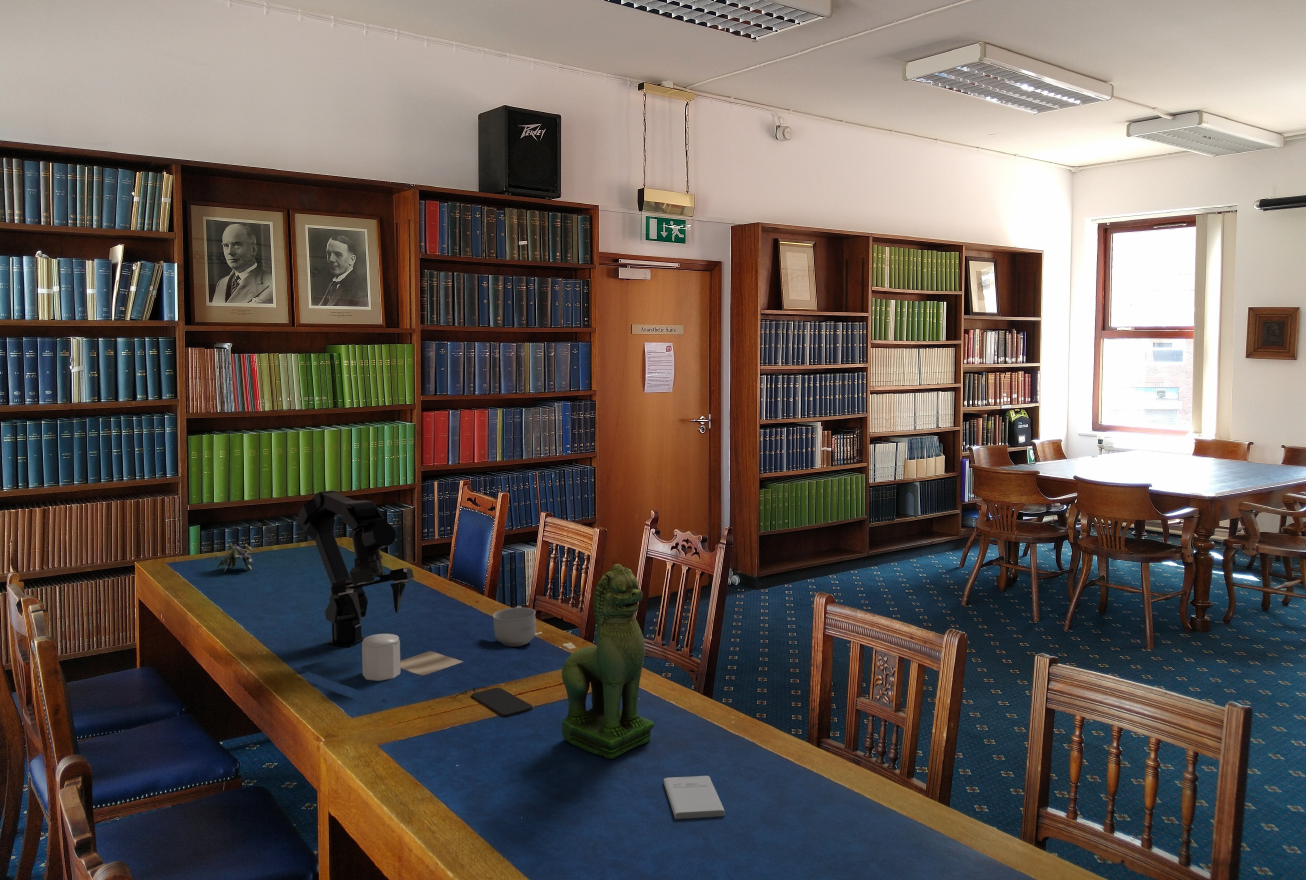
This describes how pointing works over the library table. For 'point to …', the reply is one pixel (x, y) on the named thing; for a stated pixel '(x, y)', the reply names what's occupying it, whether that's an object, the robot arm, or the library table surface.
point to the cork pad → (427, 663)
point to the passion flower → (237, 556)
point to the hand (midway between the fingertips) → (378, 616)
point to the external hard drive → (693, 797)
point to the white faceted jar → (381, 657)
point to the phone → (502, 702)
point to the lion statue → (608, 673)
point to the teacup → (515, 626)
